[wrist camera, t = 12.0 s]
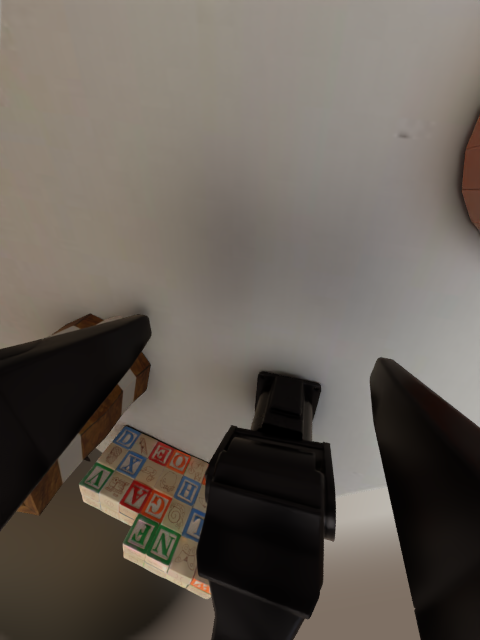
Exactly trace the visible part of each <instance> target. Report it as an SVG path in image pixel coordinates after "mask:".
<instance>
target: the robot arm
mask: <svg viewBox="0 0 480 640" xmlns="http://www.w3.org/2000/svg"><path fill="white" fill-rule="evenodd" d="M150 337H151V327H150V321H149V318H148V317H147V316H145V315H140V314H137V315H133V316H129V317H126V318H122V319H118V320H114V321H110V322H106V323H102V324H98V325H94V326H90V327H87V328H83V329H79V330H75V331H71V332H67V333H63V334H59V335H55V336H52V337H48V338H44V339H40V340H36V341H32V342H28V343H24V344H20V345H16V346H12V347H7V348H3V349H0V531H1V530H2V529H3V527H4V526H5V525H6V524H7V522H8V521H9V520H10V518H11V517H12V516H13V515H14V514H15V512H16V511H17V510H18V509H19V507H20V506H21V505H22V504H23V502H24V501H25V500H26V499H27V497H28V496H29V495H30V494H31V492H32V491H33V490H34V489H35V487H36V486H37V485H38V484H39V482H40V481H41V480H42V479H43V477H44V476H45V475H46V473H47V472H48V471H49V470H50V467H52V466H53V464H54V463H55V462H56V461H57V459H58V458H59V457H60V456H61V454H62V453H63V452H64V451H65V449H66V448H67V447H68V446H69V444H70V443H71V442H72V441H73V439H74V438H75V437H76V436H77V434H78V433H79V432H80V431H81V429H82V428H83V427H84V426H85V424H86V423H87V422H88V421H89V419H90V418H91V417H92V416H93V414H94V413H95V412H96V411H97V409H98V408H99V407H100V406H101V404H102V403H103V402H104V400H105V399H106V398H107V397H108V395H109V394H110V393H111V392H112V390H113V389H114V388H115V387H116V385H117V384H118V383H119V382H120V380H121V379H122V378H123V377H124V375H125V374H126V373H127V372H128V370H129V369H130V368H131V366H132V365H133V364H134V362H135V361H136V359H137V358H138V356H139V355H140V353H141V351H142V350H143V348H144V347H145V345H146V344H147V342H148V341H149V339H150ZM262 376H264V377H262ZM315 387H317V388H315ZM370 390H371V402H372V413H373V422H374V427H375V432H376V437H377V441H378V446H379V450H380V455H381V459H382V464H383V469H384V473H385V478H386V482H387V487H388V491H389V496H390V501H391V505H392V510H393V514H394V519H395V523H396V528H397V533H398V537H399V541H400V546H401V551H402V555H403V560H404V564H405V569H406V574H407V578H408V583H409V587H410V592H411V596H412V601H413V605H414V608H415V615H416V620H417V625H418V629H419V633H420V638H421V640H480V427H478V426H477V425H476V424H475V423H473V422H472V421H471V420H469V419H468V418H467V417H466V416H464V415H463V414H462V413H460V412H459V411H458V410H457V409H455V408H454V407H453V406H451V405H450V404H449V403H448V402H446V401H445V400H444V399H443V398H441V397H440V396H439V395H437V394H436V393H435V392H434V391H432V390H431V389H430V388H428V387H427V386H426V385H425V384H423V383H422V382H421V381H420V380H418V379H417V378H416V377H414V376H413V375H412V374H411V373H409V372H408V371H407V370H405V369H404V368H403V367H402V366H400V365H399V364H398V363H396V362H395V361H394V360H392V359H388V358H382V357H380V358H378V359H377V361H376V363H375V366H374V368H373V371H372V373H371V376H370ZM320 393H321V385H320V384H318V383H315V382H310V381H305V380H301V379H296V378H291V377H286V376H282V375H277V374H272V373H268V372H260V373H259V375H258V383H257V394H256V405H255V415H254V419H253V422H252V426H251V430H249V429H243V428H238V427H237V426H233V425H231V427H230V429H229V430H228V432H227V433H226V435H225V436H224V438H223V440H222V441H221V443H220V445H219V447H218V448H217V450H216V452H215V454H214V455H213V457H212V459H211V460H210V462H209V465H208V468H207V469H206V471H205V479H206V484H205V501H206V503H207V508H206V514H205V518H204V522H203V526H202V530H201V534H200V538H199V541H198V545H197V549H196V558H197V570H198V575H199V577H202V578H204V579H207V580H208V581H209V586H210V592H211V597H212V601H213V607H214V611H215V619H214V626H213V633H212V639H211V640H293V639H294V638H295V636H296V634H297V632H298V630H299V628H300V626H301V625H302V622H303V621H304V619H309V618H310V617H311V615H312V612H313V610H314V608H315V606H316V603H317V601H318V599H319V595H320V589H321V587H322V584H323V560H324V558H323V557H324V539H327V540H331V541H334V539H335V527H336V525H335V524H336V501H335V484H334V475H333V466H332V458H331V449H330V443H325V442H323V443H319V442H314V441H312V422H313V418H314V414H315V411H316V407H317V404H318V400H319V396H320Z"/></svg>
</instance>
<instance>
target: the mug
mask: <svg viewBox="0 0 480 640" xmlns="http://www.w3.org/2000/svg"><path fill="white" fill-rule="evenodd" d="M118 319H122V317H121V316H114V317H111V318H108V319H106V320H102V319H100V318H98V317H96V316H94V315H92V314H88V315H86V316H84V317H82V318H79V319H77V320H75V321H73V322H71V323H68V324H66V325H65V326H64V327H62V328H61V329H59V330H58V331H56V332H55V333H54V334H52V335H51V336H49V337H52V336H55V335H59V334H63V333H67V332H71V331H75V330H79V329H83V328H87V327H90V326H94V325H98V324H102V323H106V322H110V321H114V320H118ZM47 338H48V337H47ZM150 366H151V365H150V363H149V362H148V360H147V359H146V358H145V356H144V355H143V353H142V352H141V353H140V355H139V356H138V358H137V359H136V361H135V362H134V364H133V365H132V366H131V368H130V369H129V370H128V372H127V373H126V374H125V375H124V377H123V378H122V379H121V380H120V382H119V383H118V384H117V385H116V387H115V388H114V389H113V390H112V392H111V393H110V394H109V395H108V397H107V398H106V399H105V400H104V402H103V403H102V404H101V406H100V407H99V408H98V409H97V411H96V412H95V413H94V414H93V416H92V417H91V418H90V419H89V421H88V422H87V423H86V424H85V426H84V427H83V428H82V429H81V431H80V432H79V433H78V434H77V436H76V437H75V438H74V439H73V441H72V442H71V443H70V444H69V446H68V447H67V448H66V449H65V451H64V452H63V453H62V454H61V456H60V457H59V458H58V459H57V461H56V462H55V463H54V464H53V466H52V467H50V470H49V471H48V472H47V473H46V475H45V476H44V477H43V479H42V480H41V481H40V482H39V484H38V485H37V486H36V487H35V489H34V490H33V491H32V492H31V494H30V495H29V496H28V497H27V499H26V500H25V501H24V502H23V504H22V505H21V506H20V507H19V509H18V510H17V511H19V512H24V513H29V514H34V515H40V514H41V513H42V512H43V510H44V509H45V508H46V506H47V505H48V503H49V502H50V501H51V499H52V498H53V496H54V495H55V494H56V492H57V491H58V489H59V488H60V487H61V485H62V484H63V483H64V481H65V480H66V479H67V478H68V477H69V476H70V474H71V473H72V472H73V471H74V470H75V469H76V468H77V466H78V465H79V464H80V463H81V461H83V460H84V459H85V458H86V457H87V456H88V455H89V454H90V452H92V451H93V450H94V449H95V448H96V447H97V446H98V445H99V444H100V443H101V442H102V441H103V440H104V439H105V438H106V436H107V435H108V433H109V432H110V431H111V429H112V428H113V427H114V425H115V424H116V422H117V421H118V420H119V418H120V417H121V416H122V414H123V413H124V412H125V411H126V410H127V409H128V407H129V406H130V405H131V404H132V403H133V402H134V401H135V400H136V399H137V398H138V397H139V396H140V395H141V394H143V393H144V392H145V391H146V389H147V383H148V377H149V372H150Z"/></svg>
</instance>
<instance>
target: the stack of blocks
mask: <svg viewBox="0 0 480 640" xmlns="http://www.w3.org/2000/svg"><path fill="white" fill-rule="evenodd" d="M208 465H209V464H208V463H206V462H204V461H202V460H199V459H197V458H195V457H193V456H190V455H187V454H185V453H183V452H181V451H179V450H177V449H174V448H172V447H170V446H168V445H166V444H163V443H161V442H158V441H157V440H155V439H153V438H151V437H149V436H147V435H144V434H142V433H140V432H138V431H136V430H134V429H132V428H129V427H127V426H125V427H124V428H123V429H122V430H121V432H120V433H119V434H118V435H117V437H116V438H115V439H114V440H113V442H112V443H111V444H110V445H109V446H108V447H107V449H106V450H105V451H104V452H103V454H102V455H101V456H100V457H99V459H98V460H97V462H96V463H95V464H94V466H93V467H92V468H91V470H90V471H89V472H88V473H87V474H86V476H85V477H84V478H83V479H82V481H81V482H80V483H79V486H80V491H81V494H82V497H83V501H84V502H85V503H87V504H89V505H91V506H93V507H95V508H97V509H100V510H101V511H103V512H105V513H106V514H108V515H110V516H112V517H114V518H116V519H118V520H120V521H122V522H124V523H126V524H128V525H130V526H132V527H131V529H130V530H129V533H128V534H127V536H126V538H125V540H124V542H123V551H124V558H126V559H128V560H130V561H132V562H134V563H136V564H138V565H140V566H142V567H144V568H145V569H147V570H149V571H150V572H152V573H155V574H156V575H158V576H160V577H163V578H166V579H167V580H169V581H171V582H173V583H176V584H178V585H179V586H181V587H184V588H186V589H187V590H189V591H191V592H193V593H195V594H197V595H199V596H201V597H203V598H204V599H208V598H210V597H211V592H210V586H209V581H208V580H207V579H204V578H202V577H199V575H198V570H197V558H196V549H197V545H198V541H199V538H200V534H201V530H202V526H203V522H204V518H205V514H206V508H207V503H206V501H205V484H206V479H205V471H206V469H207V468H208Z"/></svg>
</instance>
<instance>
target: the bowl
mask: <svg viewBox="0 0 480 640" xmlns="http://www.w3.org/2000/svg"><path fill="white" fill-rule="evenodd" d="M466 149H467V150H466V151H465V161H464V171H463V181H462V194H463V197H464V200H465V204H466V207H467V210H468V214H469V217H470V220H471V221H472V223H473V224H474V225H475V226H476V227H477V228H478V229H479V230H480V115H479V118H478V120H477V123H476V125H475V128H474V130H473V132H472V135H471V137H470V140H469V142H468V145H467V147H466Z"/></svg>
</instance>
